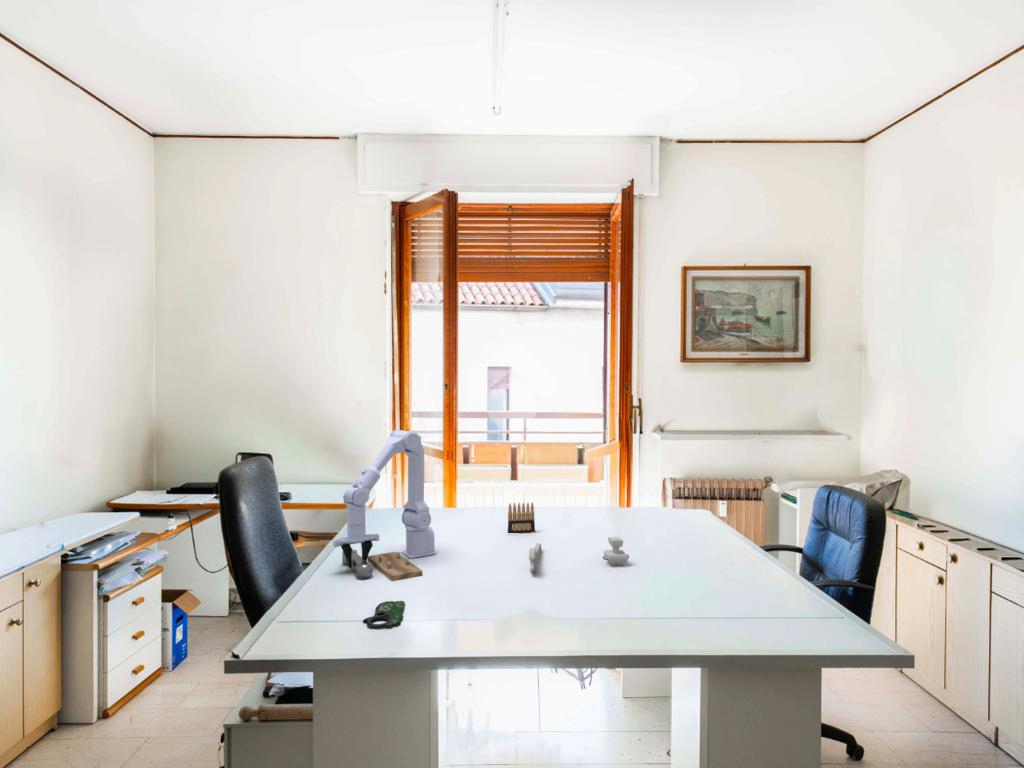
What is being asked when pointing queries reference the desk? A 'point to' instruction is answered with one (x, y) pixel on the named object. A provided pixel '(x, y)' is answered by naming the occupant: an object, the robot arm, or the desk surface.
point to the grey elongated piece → (359, 566)
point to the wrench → (534, 556)
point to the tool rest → (394, 566)
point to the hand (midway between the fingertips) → (356, 565)
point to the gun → (386, 615)
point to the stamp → (615, 552)
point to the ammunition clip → (521, 519)
